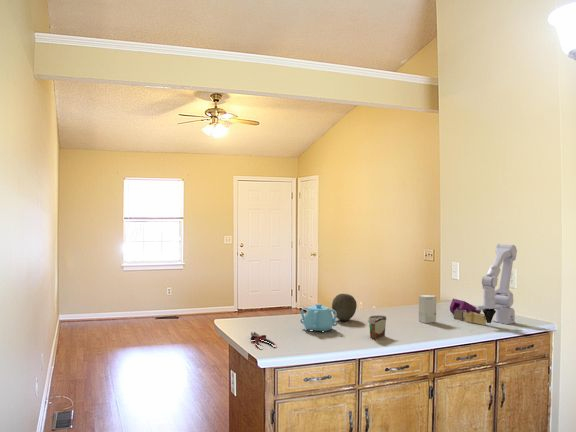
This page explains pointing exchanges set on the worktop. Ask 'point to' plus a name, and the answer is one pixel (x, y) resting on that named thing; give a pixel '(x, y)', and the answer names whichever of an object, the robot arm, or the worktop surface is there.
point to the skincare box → (427, 308)
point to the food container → (377, 326)
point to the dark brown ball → (344, 306)
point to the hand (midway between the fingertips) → (488, 322)
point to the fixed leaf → (459, 314)
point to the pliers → (262, 337)
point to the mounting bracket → (462, 306)
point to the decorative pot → (318, 318)
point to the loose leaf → (475, 318)
